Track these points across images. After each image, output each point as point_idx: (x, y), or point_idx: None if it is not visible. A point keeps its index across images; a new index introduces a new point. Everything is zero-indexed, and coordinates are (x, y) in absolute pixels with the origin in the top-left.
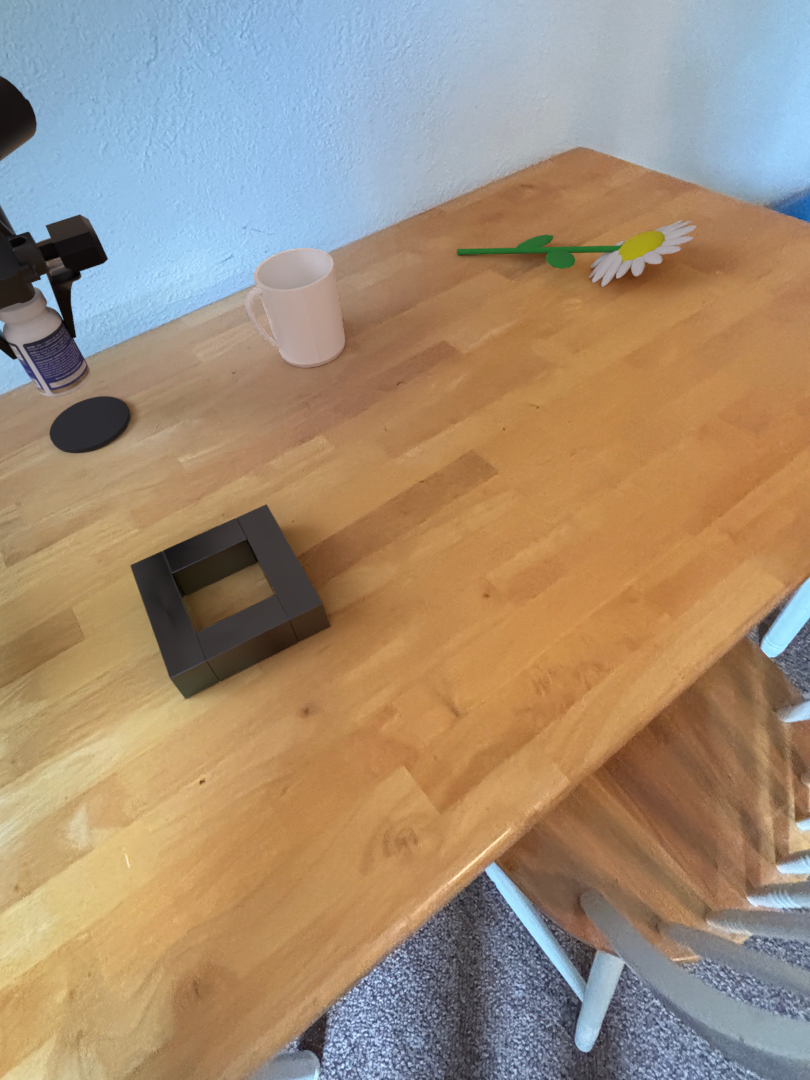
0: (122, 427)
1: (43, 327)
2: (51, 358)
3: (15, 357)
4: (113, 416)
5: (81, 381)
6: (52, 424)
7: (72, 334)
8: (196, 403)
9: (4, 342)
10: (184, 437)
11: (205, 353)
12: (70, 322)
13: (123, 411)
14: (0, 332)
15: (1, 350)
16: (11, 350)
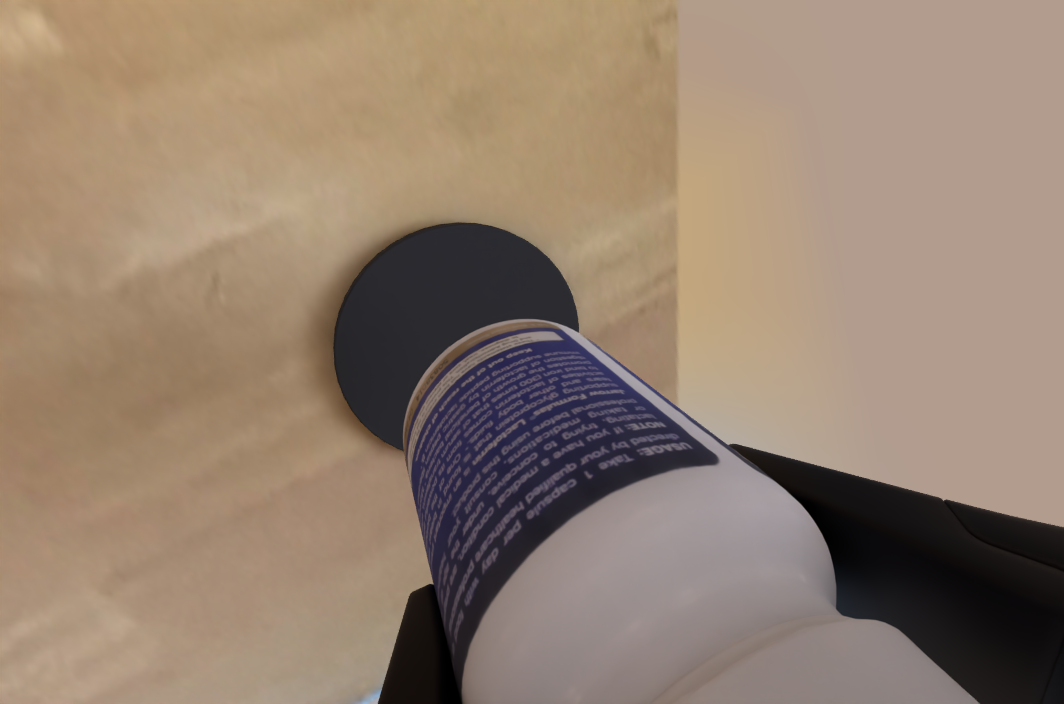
0: (346, 296)
1: (582, 604)
2: (539, 411)
3: None
4: (387, 357)
5: (428, 376)
6: None
7: (421, 604)
8: (60, 379)
9: (816, 501)
10: (65, 183)
11: (95, 630)
12: (401, 689)
13: (354, 375)
14: (837, 581)
15: (811, 465)
16: None
